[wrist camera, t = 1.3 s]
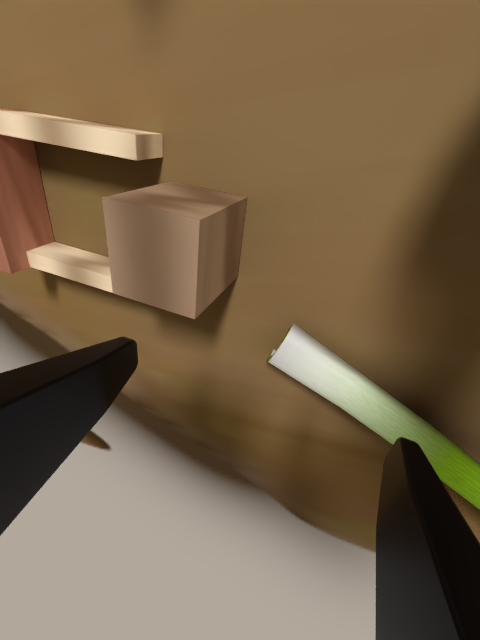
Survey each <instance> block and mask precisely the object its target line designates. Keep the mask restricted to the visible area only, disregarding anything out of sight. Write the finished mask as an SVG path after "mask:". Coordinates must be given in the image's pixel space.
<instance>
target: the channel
mask: <svg viewBox="0 0 480 640" xmlns="http://www.w3.org/2000/svg"><path fill="white" fill-rule="evenodd" d="M34 141H38V142H43V143H48V144H53V145H59V146H64V147H69V148H74V149H79V150H85V151H90V152H95V153H100V154H105V155H111V156H116V157H121V158H126V159H131V160H145V159H153V158H161V157H163V135H162V134H159V133H153V132H147V131H141V130H135V129H129V128H123V127H117V126H111V125H105V124H99V123H93V122H87V121H81V120H74V119H68V118H62V117H56V116H50V115H44V114H38V113H32V112H26V111H20V110H14V109H0V270H1V271H4V272H7V273H10V274H12V273H15V272H18V271H20V270H23V269H25V268H28V267H33V268H36V269H39V270H42V271H45V272H48V273H52V274H55V275H58V276H61V277H64V278H67V279H71V280H74V281H77V282H80V283H83V284H86V285H89V286H93V287H96V288H99V289H102V290H105V291H108V292H112V293H113V291H112V282H111V273H110V264H109V257H105V256H102V255H98V254H95V253H91V252H88V251H84V250H81V249H77V248H74V247H70V246H67V245H63V244H60V243H56V242H54V238H53V233H52V228H51V223H50V218H49V213H48V209H47V204H46V199H45V194H44V189H43V184H42V179H41V174H40V169H39V164H38V159H37V155H36V150H35V145H34Z"/></svg>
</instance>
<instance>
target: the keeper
mask: <svg viewBox="0 0 480 640" xmlns="http://www.w3.org/2000/svg"><path fill="white" fill-rule="evenodd" d="M102 201H103V210H104V219H105V228H106V237H107V246H108V255H109V264H110V273H111V282H112V291H113V294H117V295H120V296H123V297H126V298H129V299H132V300H135V301H139V302H142V303H145V304H148V305H151V306H154V307H157V308H161V309H164V310H167V311H170V312H173V313H176V314H179V315H183V316H186V317H189V318H192V319H196V318H197V317H198V316H199V315H200V314H201V313H202V312H203V311H204V310H205V309H206V308H207V307H208V306H209V305H210V304H211V303H212V302H213V301H214V300H215V299H216V298H217V297H218V296H219V295H220V294H221V293H222V292H223V291H224V290H225V289H226V288H227V287H228V286H229V285H230V284H231V283H232V282H233V281H234V280H235V279H236V278H237V277H238V271H239V263H240V255H241V247H242V238H243V230H244V222H245V214H246V205H247V197H245V196H240V195H235V194H230V193H225V192H220V191H216V190H211V189H206V188H201V187H196V186H191V185H186V184H181V183H177V182H172V181H170V182H166V183H162V184H157V185H153V186H149V187H145V188H140V189H136V190H132V191H128V192H124V193H119V194H115V195H111V196H107V197H102Z"/></svg>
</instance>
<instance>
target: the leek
mask: <svg viewBox="0 0 480 640" xmlns="http://www.w3.org/2000/svg"><path fill="white" fill-rule="evenodd" d="M267 361H268V362H269V363H270V364H272V365H274V366H275V367H277V368H278V369H280V370H281V371H283V372H285V373H286V374H288V375H289V376H291V377H293V378H294V379H296V380H297V381H299V382H301V383H302V384H304V385H305V386H307V387H308V388H310V389H312V390H313V391H315V392H316V393H318V394H320V395H321V396H323V397H324V398H326V399H328V400H329V401H331V402H332V403H334V404H335V405H337V406H339V407H340V408H342V409H343V410H344V411H346V412H347V413H349V414H350V415H352V416H353V417H354V418H356V419H357V420H359V421H360V422H361V423H363V424H364V425H366V426H367V427H369V428H370V429H371V430H373V431H374V432H376V433H377V434H378V435H380V436H381V437H383V438H384V439H386V440H387V441H388V442H390V443H391V444H394V443H395V441H396V440H397V438H399V437H404V438H407V439H409V440H412V441H415V442H417V443H418V444H419V445H420V447H421V449H422V450H423V452H424V453H425V455H426V457H427V458H428V460H429V462H430V463H431V465H432V466H433V468H434V470H435V471H436V473H437V475H438V476H439V478H440V479H441V481H443V482H444V483H445V484H447V485H448V486H449V487H451V488H452V489H453V490H455V491H456V492H457V493H459V494H460V495H461V496H462V497H464V498H465V499H466V500H468V501H469V502H470V503H472V504H473V505H474V506H476V507H477V508H478V509H479V510H480V464H479V463H478V462H477V461H476V460H474V459H473V458H472V457H471V456H469V455H468V454H467V453H466V452H464V451H463V450H462V449H461V448H459V447H458V446H457V445H456V444H454V443H453V442H452V441H451V440H449V439H448V438H447V437H446V436H444V435H443V434H442V433H441V432H439V431H438V430H437V429H435V428H434V427H433V426H431V425H430V424H428V423H427V422H426V421H424V420H423V419H422V418H420V417H419V416H418V415H416V414H415V413H414V412H412V411H411V410H410V409H408V408H407V407H406V406H404V405H403V404H402V403H400V402H399V401H398V400H396V399H395V398H394V397H392V396H391V395H390V394H388V393H387V392H386V391H384V390H383V389H381V388H380V387H379V386H377V385H376V384H375V383H373V382H372V381H371V380H369V379H368V378H367V377H365V376H364V375H363V374H361V373H360V372H359V371H357V370H356V369H355V368H353V367H352V366H350V365H349V364H348V363H346V362H345V361H344V360H342V359H341V358H340V357H338V356H337V355H336V354H334V353H333V352H332V351H330V350H329V349H327V348H326V347H325V346H323V345H322V344H321V343H319V342H318V341H317V340H315V339H314V338H313V337H311V336H310V335H308V334H307V333H306V332H304V331H303V330H302V329H300V328H299V327H298V326H296V325H295V324H293V325H292V326H291V328H290V329H289V331H288V333H287V335H286V336H285V338H284V340H283V342H282V343H281V345H280V347H279V348H278V350H277V351H275V350H273V351H272V353H271V354H270V356H269V357H268V359H267Z"/></svg>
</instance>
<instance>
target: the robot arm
mask: <svg viewBox="0 0 480 640" xmlns="http://www.w3.org/2000/svg"><path fill="white" fill-rule="evenodd" d="M137 365H138V354H137V343H136V341H134V340H132V339H130V338H127V337H119V338H116V339H113V340H109V341H106V342H103V343H99V344H96V345H93V346H89V347H86V348H83V349H80V350H76V351H73V352H70V353H66V354H63V355H60V356H56V357H53V358H50V359H46V360H43V361H40V362H36V363H33V364H30V365H26V366H23V367H20V368H17V369H13V370H10V371H6V372H3V373H0V535H1V534H2V533H3V532H4V531H5V530H6V528H7V527H8V526H9V525H10V524H11V522H12V521H13V520H14V519H15V518H16V517H17V515H18V514H19V513H20V512H21V511H22V510H23V508H24V507H25V506H26V505H27V504H28V502H29V501H30V500H31V499H32V498H33V497H34V496H35V494H36V493H37V492H38V491H39V490H40V488H41V487H42V486H43V485H44V484H45V482H46V481H47V480H48V479H49V478H50V477H51V475H52V474H53V473H54V472H55V471H56V470H57V469H58V467H59V466H60V465H61V464H62V463H63V462H64V460H65V459H66V458H67V457H68V456H69V454H70V453H71V452H72V451H73V450H74V449H75V447H76V446H77V445H78V444H79V443H80V442H81V440H82V439H83V438H84V437H85V436H86V435H87V433H88V432H89V431H90V430H91V429H92V427H93V426H94V425H95V424H96V423H97V421H98V420H99V419H100V418H101V417H102V416H103V415H104V413H105V412H106V411H107V409H108V408H109V407H110V406H111V404H112V402H113V401H114V400H115V398H116V397H117V396H118V394H119V393H120V391H121V390H122V388H123V387H124V385H125V384H126V382H127V381H128V380H129V378H130V377H131V375H132V374H133V372H134V371H135V369H136V367H137ZM376 640H480V543H479V541H478V540H477V538H476V536H475V535H474V533H473V532H472V530H471V528H470V527H469V525H468V523H467V522H466V520H465V519H464V517H463V515H462V514H461V512H460V510H459V509H458V507H457V505H456V504H455V502H454V501H453V499H452V497H451V496H450V494H449V492H448V491H447V489H446V488H445V486H444V484H443V483H442V481H441V479H440V478H439V476H438V475H437V473H436V471H435V470H434V468H433V466H432V465H431V463H430V462H429V460H428V458H427V457H426V455H425V453H424V452H423V450H422V449H421V447H420V445H419V444H418V443H417V442H415V441H412V440H409V439H407V438H404V437H399V438H397V440H396V441H395V443H394V444H393V446H392V448H391V449H390V451H389V453H388V454H387V456H386V458H385V461H384V466H383V474H382V483H381V491H380V499H379V507H378V515H377V525H376Z"/></svg>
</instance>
